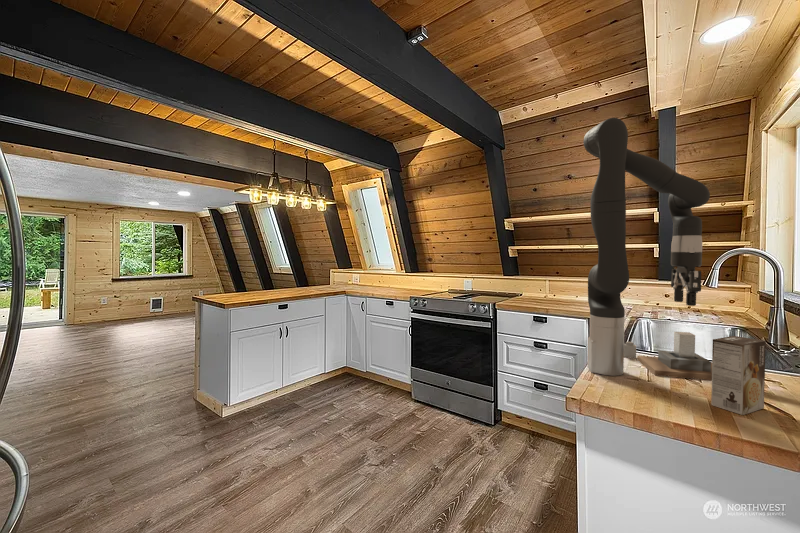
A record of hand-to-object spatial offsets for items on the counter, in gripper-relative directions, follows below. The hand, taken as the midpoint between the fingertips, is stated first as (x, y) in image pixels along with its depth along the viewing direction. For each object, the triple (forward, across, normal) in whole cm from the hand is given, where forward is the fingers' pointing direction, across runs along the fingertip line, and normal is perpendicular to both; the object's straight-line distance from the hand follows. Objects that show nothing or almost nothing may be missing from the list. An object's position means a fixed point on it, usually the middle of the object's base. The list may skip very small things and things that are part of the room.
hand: (684, 303), depth 113 cm
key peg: (+19, 0, 0) cm, 19 cm away
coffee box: (+21, +28, 0) cm, 35 cm away
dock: (+21, 0, 0) cm, 21 cm away
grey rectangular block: (+21, -12, -13) cm, 27 cm away
